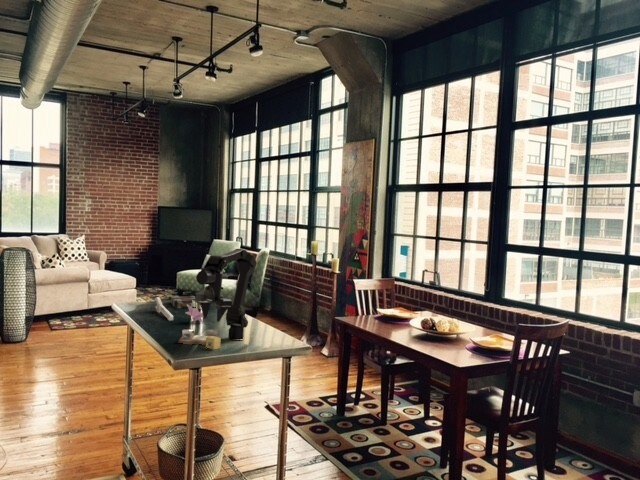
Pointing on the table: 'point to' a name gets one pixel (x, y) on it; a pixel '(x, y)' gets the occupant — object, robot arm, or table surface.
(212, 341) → the yellow knobbed block
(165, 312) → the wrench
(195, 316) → the lily
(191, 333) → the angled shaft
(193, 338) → the base plate
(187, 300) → the book
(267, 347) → the table surface
